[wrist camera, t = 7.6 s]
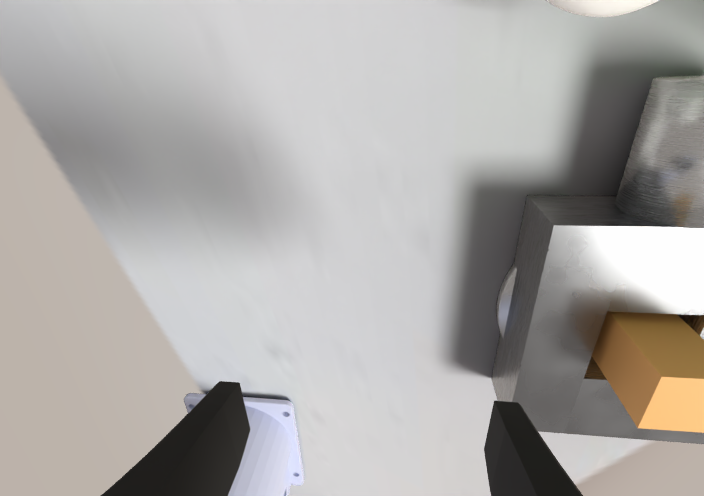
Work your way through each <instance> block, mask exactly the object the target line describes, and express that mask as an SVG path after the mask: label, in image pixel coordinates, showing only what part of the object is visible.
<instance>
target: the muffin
mask: <svg viewBox="0 0 704 496" xmlns="http://www.w3.org/2000/svg"><path fill="white" fill-rule="evenodd" d="M546 1H548V2H549V3H551V4H552V5H554V6H556V7H558V8H560V9H562V10H565V11H567V12H570V13H573V14H578V15H583V16H591V17H610V16H617V15H622V14H626V13H630V12H633V11H636V10H639V9H642V8H644V7H646V6H649V5H651V4H653V3H655V2H657V1H659V0H546Z"/></svg>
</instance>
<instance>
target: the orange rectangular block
mask: <svg viewBox="0 0 704 496" xmlns="http://www.w3.org/2000/svg"><path fill="white" fill-rule="evenodd" d="M592 357H593V359H594V360H595V362H596V363H597V365H598V367H599V368H600V370H601V371H602V373H603V374H604V376H605V378H606V379H607V381H608V382H609V384H610V385H611V387H612V389H613V390H614V392H615V393H616V395H617V396H618V398H619V400H620V401H621V403H622V404H623V406H624V407H625V409H626V411H627V412H628V414H629V415H630V417H631V418H632V420H633V422H634V423H635V425H636V426H637V428H642V429H657V430H672V431H687V432H702V433H704V339H703V338H702V337H701V336H699V335H698V334H697V333H696V332H695V331H694V330H693V329H692V328H691V327H690V326H689V325H688V324H687V323H686V322H685V321H683V320H682V319H681V318H680V317H679V316H678V315H677V314H659V313H635V312H610V311H607V314H606V316H605V319H604V322H603V325H602V328H601V331H600V334H599V336H598V339H597V342H596V345H595V348H594V351H593V354H592Z"/></svg>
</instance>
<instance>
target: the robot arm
mask: <svg viewBox="0 0 704 496" xmlns="http://www.w3.org/2000/svg"><path fill="white" fill-rule="evenodd" d="M184 402H185V405H186V408H187V411H188V414H187V415H186V416H185V417H184V418H183V419H182V420H181V421H180V423H179V424H177V426H175V427H174V428H173V429H172V430H171V431H170V432H169V433H168V434H167V435H166V437H164V438H163V439H162V440H161V441H160V442H159V443H158V444H157V445H156V446H155V447H154V448H153V449H152V450H151V451H150V452H149V453H148V454H147V455H146V456H145V457H144V458H142V460H140V461H139V462H138V463H137V464H136V465H135V466H134V467H133V468H132V469H130V470H129V471H128V472H127V473H126V474H125V475H124V476H123V477H122V478H121V479H120V480H118V481H117V482H116V483H115V484H114V485H113V486H112V487H110V489H108V490H107V491H106V492H105V493H104V494H102V495H101V496H288V495H289V491H290V487H291V485H297V486H300V485H303V483H304V472H303V466H302V459H301V453H300V446H299V440H298V433H297V426H296V420H295V413H294V407H293V404H292V403H291V402H290V401H288V400H277V399H264V398H250V397H243V396H242V391H241V387H240V383H236V382H222V381H220V382H219V383H217V384H216V385H215V386H214V387H213V388H212V389H211V390H210V391H209V393H208V394H196V393H189V394H187V395H186V397H185V398H184ZM484 451H485V459H486V466H487V473H488V479H489V486H490V492H491V496H583V495H582V494H581V492H580V491H579V490H578V488H577V487H576V485H575V484H574V483H573V481H572V480H571V479H570V477H569V476H568V475H567V473H566V472H565V470H564V469H563V468H562V466H561V465H560V463H559V462H558V461H557V459H556V458H555V456H554V455H553V453H552V452H551V450H550V449H549V448H548V446H547V445H546V443H545V442H544V440H543V439H542V437H541V436H540V434H539V433H538V431H537V430H536V428H535V427H534V425H533V423H532V422H531V420H530V419H529V417H528V416H527V414H526V413H525V411H524V409H523V408H522V406H521V405H520V404H519V403H518V402H505V401H494V405H493V409H492V414H491V419H490V424H489V429H488V433H487V438H486V443H485V448H484Z"/></svg>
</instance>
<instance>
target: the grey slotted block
mask: <svg viewBox="0 0 704 496" xmlns="http://www.w3.org/2000/svg"><path fill="white" fill-rule="evenodd" d="M496 311H497V321H498V325H499V329H500V332H501V333H500V338H499V343H498V348H497V353H496V358H495V364H494V369H493V374H492V382H493V386H494V389H495V393H496V396H497V400H498V401H505V402H518V403H519V404H520V405H521V406H522V408H523V409H524V411H525V413H526V414H527V416H528V417H529V419H530V420H531V422H532V423H533V425H534V427H535V428H536V430H537V431H541V432H554V433H567V434H579V435H592V436H605V437H618V438H631V439H644V440H657V441H670V442H683V443H696V444H704V433H702V432H687V431H672V430H657V429H642V428H637V426H636V425H635V423H634V422H633V420H632V418H631V417H630V415H629V414H628V412H627V411H626V409H625V407H624V406H623V404H622V403H621V401H620V400H619V398H618V396H617V395H616V393H615V392H614V390H613V389H612V387H611V385H610V384H609V382H608V381H607V379H606V378H605V376H604V374H603V373H602V371H601V370H600V368H599V367H598V365H597V363H596V362H595V360H594V359H593V357H592V354H593V351H594V348H595V345H596V342H597V339H598V336H599V334H600V331H601V328H602V325H603V322H604V319H605V316H606V314H607V311H610V312H635V313H659V314H677V315H678V316H679V317H680V318H681V319H682V320H683V321H685V322H686V323H687V324H688V325H689V326H690V327H691V328H692V329H693V330H694V331H695V332H696V333H697V334H698V335H699V336H701V337H702V338H703V339H704V76H670V77H657V78H653V81H652V84H651V87H650V91H649V94H648V97H647V100H646V103H645V107H644V110H643V113H642V116H641V120H640V123H639V126H638V129H637V132H636V136H635V139H634V142H633V145H632V149H631V152H630V155H629V158H628V161H627V165H626V168H625V171H624V174H623V178H622V181H621V184H620V187H619V190H618V194H617V196H552V195H527V198H526V203H525V208H524V213H523V218H522V224H521V229H520V234H519V239H518V244H517V250H516V255H515V260H514V264H513V265H512V267H511V268H510V270H509V271H508V273H507V275H506V276H505V278H504V281H503V283H502V285H501V288H500V291H499V295H498V299H497V309H496Z"/></svg>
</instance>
